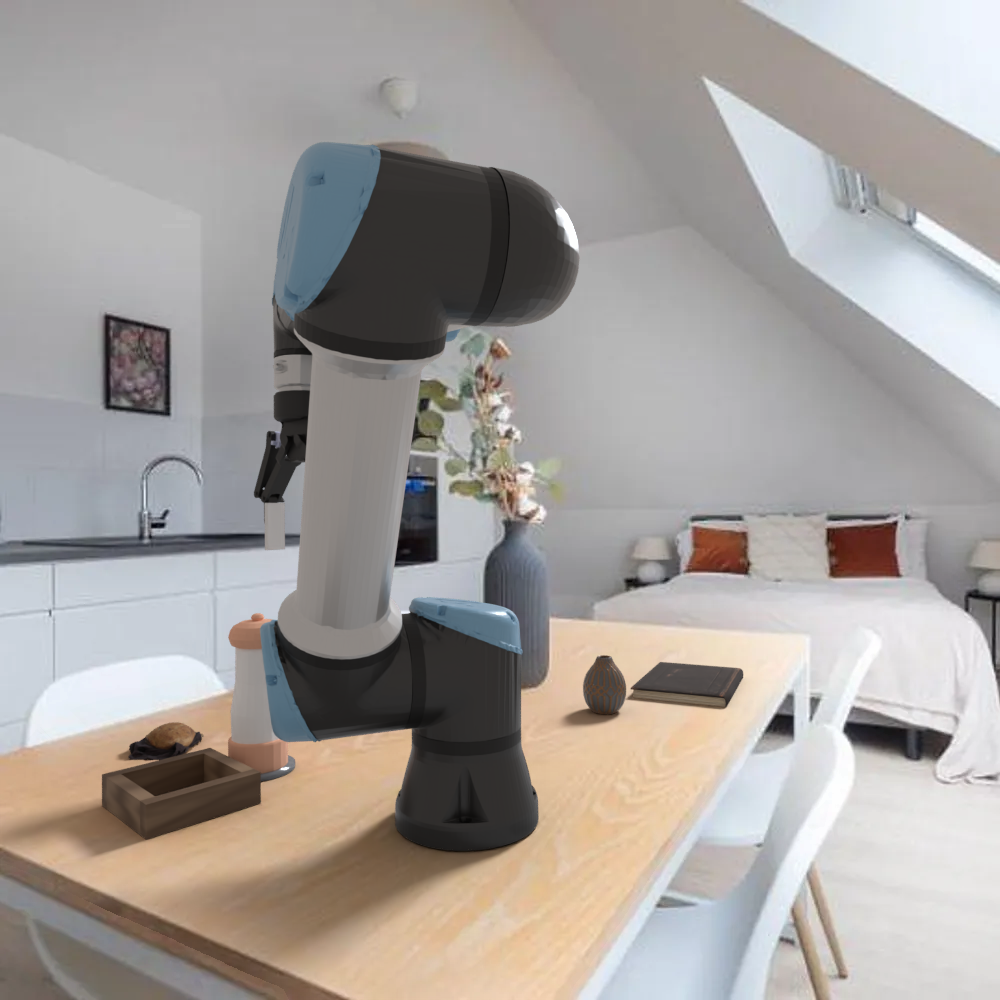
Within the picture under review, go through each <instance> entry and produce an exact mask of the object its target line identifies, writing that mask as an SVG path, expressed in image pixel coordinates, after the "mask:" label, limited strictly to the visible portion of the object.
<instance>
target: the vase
mask: <svg viewBox="0 0 1000 1000" xmlns="http://www.w3.org/2000/svg"><path fill="white" fill-rule="evenodd" d="M582 693H583V694H582V695H583V699H584V701H585V704H586V705H587V707H588V708H589V710H591V711H592V712H593V713H595V714H598V715H611V714H616V713H618V712H619V710H620V709H622V708H623V705H624V704H625V701H626V696H627V684H626V681H625V676H624V674H623V673H622V671H621V670H620V668H619V667H618V666H617V664H616V663H615V662H614V659H613V657H612V656H610V655H605V654H603V655H597V656H596V658H595V660H594V661H593V664H592V665H591V666H590V667H589V669H588V670H587V672H586V673H585V676H584V678H583V684H582Z"/></svg>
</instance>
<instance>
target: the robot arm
mask: <svg viewBox="0 0 1000 1000" xmlns="http://www.w3.org/2000/svg"><path fill="white" fill-rule="evenodd" d="M278 235H279V236H278V241H277V249H276V259H277V260H276V265H275V273H274V280H273V292H272V297H271V305H272V309H273V310H272V314H273V315H272V316H273V319H272V322H273V323H272V324H273V325H272V326H273V327H272V328H273V365H272V368H273V388H274V389H276V390H277V392H275V393H274V395H273V418H274V419H273V420H275V421H276V422H280V424H281V429H280V431H276V430H275V431H273V430H268V431H267V432H266V436H265V437H266V439H265V440H266V441H265V448H264V449H265V450H264V453H263V457H262V461H261V463H260V468H259V472H258V476H257V480H256V483H255V486H254V491H253V496H254V499H259V500H260V501H261V502H262V503H263V522H264V550H265V551H278V550H279V551H280V550H285V549H286V519H285V518H286V515H285V514H286V513H285V511H286V510H285V507H286V503H285V502H286V500H285V499H284V498H283V496H284V494H285V492H286V490H287V488H288V485H289V484H290V481H291V479H292V477H293V476H294V473H295V470H296V469H297V467H298V466H301V464H302V463H304V476H303V477H304V478H303V489H302V502H301V503H302V504H301V505H302V506H301V521H300V533H299V535H300V536H299V546H298V547H299V549H298V550H299V551H298V563H297V576H296V577H297V578H296V589H295V590H293V591H292V592H291V593H288V595H287V596H286V597H285V598H284V600H283V601H282V602H281V604H280V606H279V609H278V612H277V619H273V620H271V621H270V622H266V623H264V624H262V626H261V628H260V636H261V646H262V655H263V663H264V671H265V678H266V685H267V696H268V704H269V711H270V719H271V725H272V730H273V732H274V734H275V736H276V737H277V738H279V739H280V740H282V741H285V742H288V743H299V742H313V743H316V742H319V743H320V742H322V741H327V740H334V739H335V740H336V739H342V738H350V737H358V736H365V735H372V734H381V733H388V732H397V731H404V730H405V731H406V730H411V750H410V753H409V757H408V761H407V765H406V768H405V772H404V776H403V779H402V784H401V789H400V790H398V793H397V796H396V798H395V806H394V807H395V808H394V812H395V815H394V819H395V820H394V821H395V823H394V824H395V827H396V829H397V832H399V833H400V834H401V836H403V837H404V838H406V839H407V840H409V841H411V842H413V843H415V844H417V845H421V846H424V847H427V848H432V849H437V850H442V851H443V850H444V851H454V852H455V851H459V852H463V851H464V852H465V851H469V852H470V851H481V850H489V849H494V848H499V847H503V846H507V845H510V844H512V843H515V842H517V841H521V839H524V838H525V837H527V836H529V834H531V833H532V832H533V831H534V830H535V829H536V827H537V826H538V823H539V797H538V793H537V791H536V788H535V787H534V786H533V785H532V780H531V775H530V771H529V767H528V764H527V760H526V759H527V758H526V757H525V753H524V750H523V746H522V655H523V649H522V643H521V630H520V620H519V619H518V617H517V614H515V612H514V611H512V610H511V609H509V608H507V607H504V606H502V605H497V604H492V603H488V602H487V603H486V602H481V601H474V600H466V599H461V598H460V599H457V598H449V597H448V598H447V597H435V596H433V597H430V596H429V597H428V596H427V597H422V596H421V597H415V598H413V599H412V600H411V601H410V604H409V606H408V611H409V612H408V613H402V611H401V608H400V607H399V605H398V604H397V603H396V601H395V600H394V599H393V598H392V597H391V591H392V585H393V578H394V569H395V563H396V556H397V548H398V541H399V535H400V528H401V522H402V521H401V520H402V513H403V506H404V501H405V500H404V498H405V493H406V485H407V478H408V471H409V470H408V469H409V463H410V458H411V457H410V456H411V448H412V441H413V435H414V427H415V421H416V420H415V419H416V414H417V408H418V407H417V406H418V400H419V399H418V398H419V392H420V385H421V384H420V383H421V379H422V378H421V377H422V371H423V369H424V368H425V367H427V366H428V365H430V364H431V363H432V362H434V361H435V360H437V359H440V357H441V356H442V355H443V354H444V352H445V347H446V343H448V342H452V341H454V340H455V339H456V338H457V337H458V335H459V333H460V331H461V330H462V329H465V328H469V327H486V328H488V327H489V328H490V327H491V328H492V327H495V328H497V327H500V328H501V327H503V328H504V327H505V328H507V327H520V326H523V325H528V324H529V325H530V324H533V323H537V322H539V321H542V320H545V319H546V318H547V317H549V316H551V315H552V314H554V313H555V312H556V311H557V310H558V309H559V308H561V307H562V306H563V304H564V303H565V302H566V301H567V299H568V298H569V296H570V294H571V292H572V290H573V288H574V287H575V285H576V281H577V278H578V274H579V268H580V260H581V259H580V247H579V241H578V237H577V234H576V231H575V228H574V225H573V223H572V221H571V219H570V217H569V214H568V212H567V211H566V210H565V209H564V208H563V206H562V205H561V203H560V202H559V201H558V200H557V199H556V198H555V197H554V196H553V195H552V194H551V192H549V190H548V189H546V188H544V187H543V186H541V185H540V184H539V183H537V182H536V181H534V180H533V179H531V178H529V177H526V176H525V175H522V174H520V173H518V172H515V171H511V170H508V169H504V168H499V167H494V166H489V167H486V166H482V165H476V164H470V163H465V162H460V161H459V162H458V161H453V160H448V159H443V158H440V157H438V158H437V157H432V156H427V155H426V156H425V155H423V154H417V153H411V152H406V151H400V150H399V151H398V150H395V149H389V148H384V147H378V146H377V145H375V144H354V143H347V142H346V143H342V142H331V141H321V142H316V143H313V144H312V145H311V146H309V147H307V148H306V149H305V150H304V151H303V152H302V154H301V155H300V156H299V158H298V160H297V162H296V163H295V167H294V170H293V172H292V176H291V179H290V181H289V185H288V189H287V193H286V199H285V203H284V207H283V212H282V217H281V223H280V228H279V234H278Z"/></svg>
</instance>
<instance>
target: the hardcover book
mask: <svg viewBox="0 0 1000 1000" xmlns="http://www.w3.org/2000/svg"><path fill="white" fill-rule="evenodd" d="M743 679H744V670H743V669H742V668H740V667H730V666H716V665H706V664H705V665H704V664H691V663H679V662H667V661H659V662H658V663H657V664H656V665H654V667H652V668H651V669H650V670H649V671H648V672H647V673H646V674H645V675H643V676H642V677H640V679H639V680H638V681H636V682H635V684H633V685H632V686H631V687H630V690H633V691H632V698H634V699H645V700H652V701H663V702H665V701H666V702H671V703H684V704H693V705H702V706H712V707H724V708H727V707H728V705H729V704H730V701H731V700H732V698H733V696H734V695H735V693H736V691H737V689H738V688H739V686H740V684H741V682H742V681H743Z"/></svg>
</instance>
